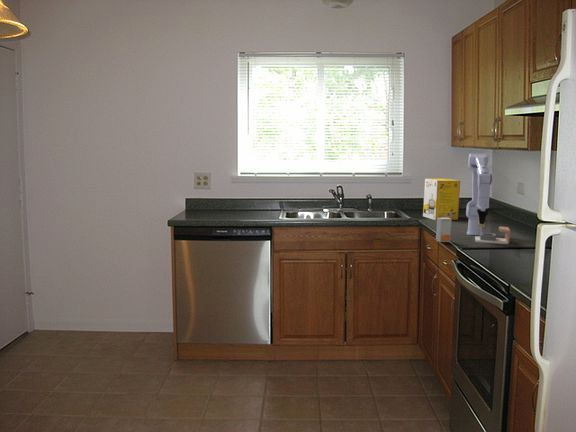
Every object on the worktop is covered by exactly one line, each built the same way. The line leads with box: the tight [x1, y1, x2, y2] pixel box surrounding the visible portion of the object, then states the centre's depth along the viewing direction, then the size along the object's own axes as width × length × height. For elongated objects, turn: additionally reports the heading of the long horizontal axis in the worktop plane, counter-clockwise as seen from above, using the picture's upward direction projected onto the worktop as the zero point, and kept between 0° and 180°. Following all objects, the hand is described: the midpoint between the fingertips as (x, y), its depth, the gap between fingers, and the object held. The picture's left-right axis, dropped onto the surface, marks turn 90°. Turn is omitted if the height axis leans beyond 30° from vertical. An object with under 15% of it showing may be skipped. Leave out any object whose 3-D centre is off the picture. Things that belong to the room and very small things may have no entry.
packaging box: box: [422, 178, 461, 221], centre depth 392 cm, size 16×16×25 cm
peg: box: [478, 217, 486, 228], centre depth 311 cm, size 3×3×6 cm
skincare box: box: [435, 218, 452, 243], centre depth 306 cm, size 6×4×12 cm
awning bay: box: [474, 226, 511, 245], centre depth 311 cm, size 12×16×7 cm
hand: (481, 223), depth 311 cm, fingers closed on peg, 3 cm apart
